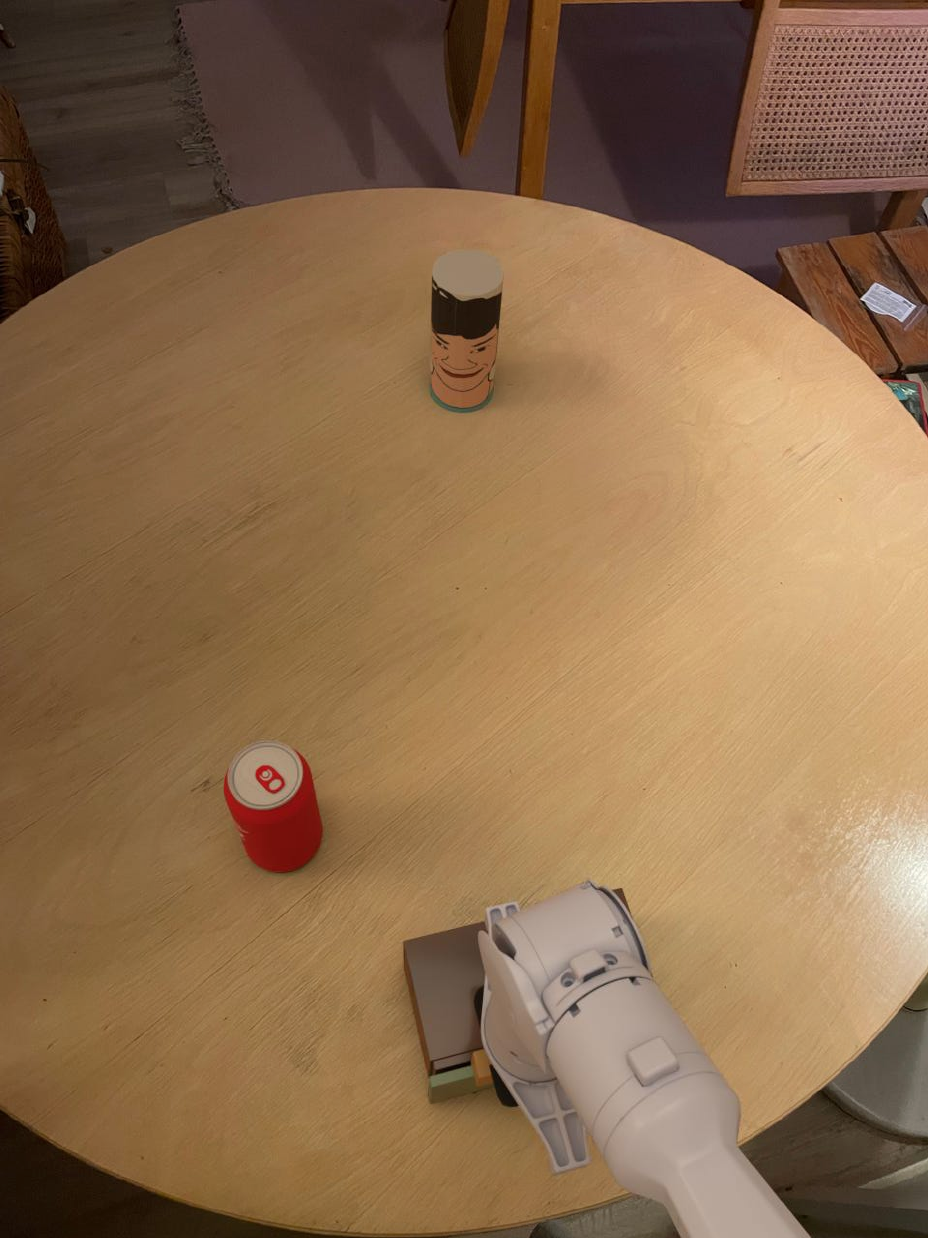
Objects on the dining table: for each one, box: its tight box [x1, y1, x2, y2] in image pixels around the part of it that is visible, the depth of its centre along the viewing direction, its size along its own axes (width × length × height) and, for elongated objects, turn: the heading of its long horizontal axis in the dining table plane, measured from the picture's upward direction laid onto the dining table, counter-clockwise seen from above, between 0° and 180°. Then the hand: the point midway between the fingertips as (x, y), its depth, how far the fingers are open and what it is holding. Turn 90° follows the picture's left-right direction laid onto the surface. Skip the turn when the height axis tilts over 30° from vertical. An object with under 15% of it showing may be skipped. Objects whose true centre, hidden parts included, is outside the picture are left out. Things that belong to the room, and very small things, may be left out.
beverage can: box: [223, 739, 324, 873], centre depth 77 cm, size 6×6×12 cm
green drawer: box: [427, 1049, 495, 1105], centre depth 68 cm, size 2×8×10 cm, turn 105°
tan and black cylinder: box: [429, 248, 505, 413], centre depth 103 cm, size 7×7×15 cm
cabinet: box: [402, 887, 654, 1080], centre depth 73 cm, size 9×16×7 cm, turn 104°
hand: (521, 1059), depth 66 cm, fingers closed, pressing on green drawer
